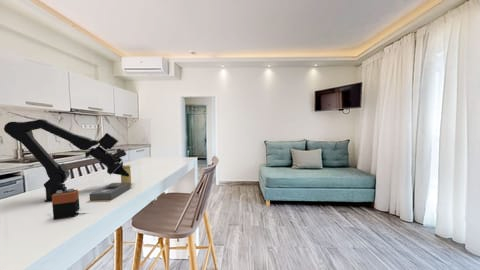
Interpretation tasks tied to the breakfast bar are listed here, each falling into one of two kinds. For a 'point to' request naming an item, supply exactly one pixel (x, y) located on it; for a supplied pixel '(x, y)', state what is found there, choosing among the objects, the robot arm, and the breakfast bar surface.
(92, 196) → the panel
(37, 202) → the breakfast bar surface
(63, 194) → the battery
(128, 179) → the plug
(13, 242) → the breakfast bar surface
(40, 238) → the breakfast bar surface
